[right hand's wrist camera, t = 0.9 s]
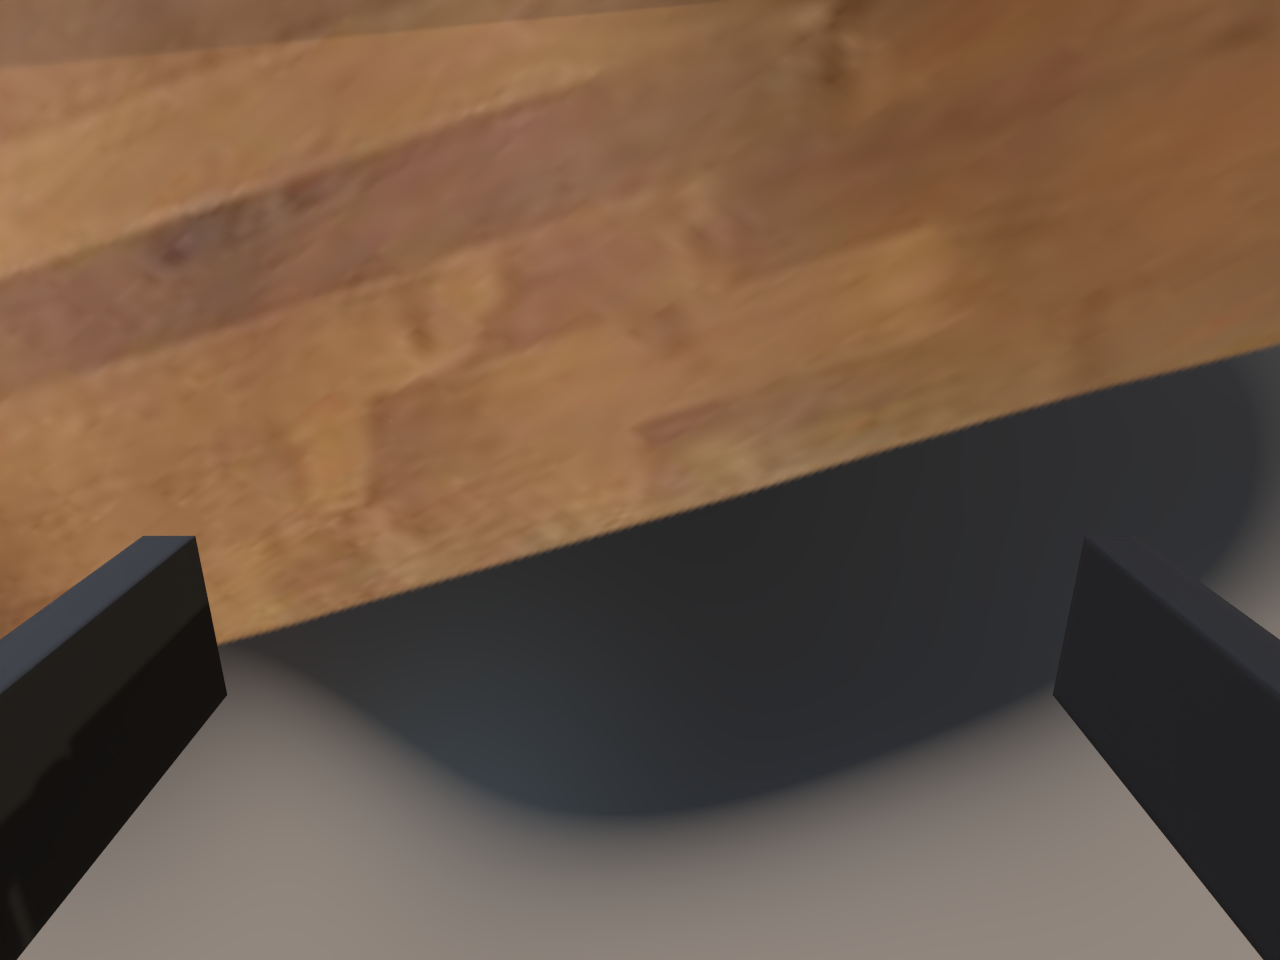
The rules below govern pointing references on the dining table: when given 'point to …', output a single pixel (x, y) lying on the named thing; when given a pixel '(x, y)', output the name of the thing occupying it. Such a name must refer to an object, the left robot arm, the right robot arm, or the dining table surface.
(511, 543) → the dining table surface
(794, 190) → the dining table surface
